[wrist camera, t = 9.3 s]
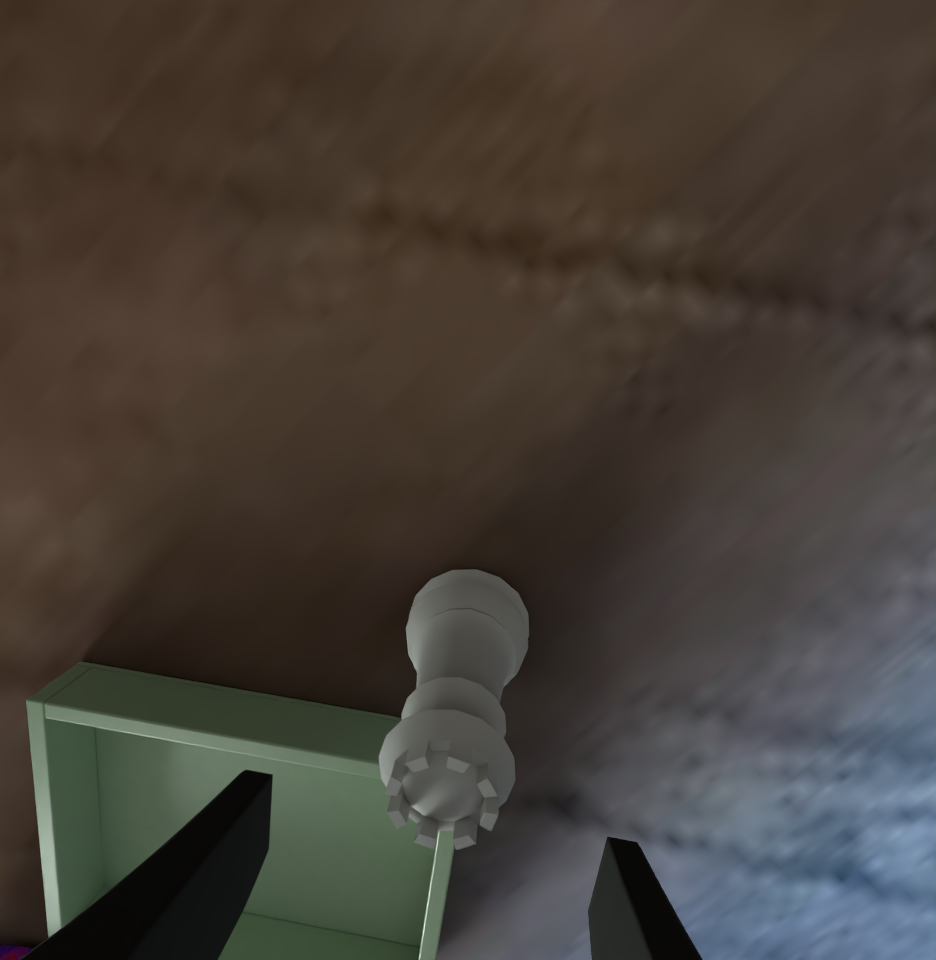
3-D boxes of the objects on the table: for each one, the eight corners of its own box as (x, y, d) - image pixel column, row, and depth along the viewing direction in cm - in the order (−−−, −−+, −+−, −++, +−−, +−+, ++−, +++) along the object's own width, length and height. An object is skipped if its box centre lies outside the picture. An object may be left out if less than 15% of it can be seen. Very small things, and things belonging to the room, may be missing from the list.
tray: (471, 729, 20) (466, 779, 17) (434, 955, 22) (425, 1023, 20) (80, 660, 20) (24, 699, 18) (94, 888, 23) (48, 946, 21)
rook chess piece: (552, 601, 18) (585, 782, 10) (490, 690, 19) (477, 915, 11) (447, 541, 18) (399, 678, 10) (390, 634, 19) (307, 824, 11)
